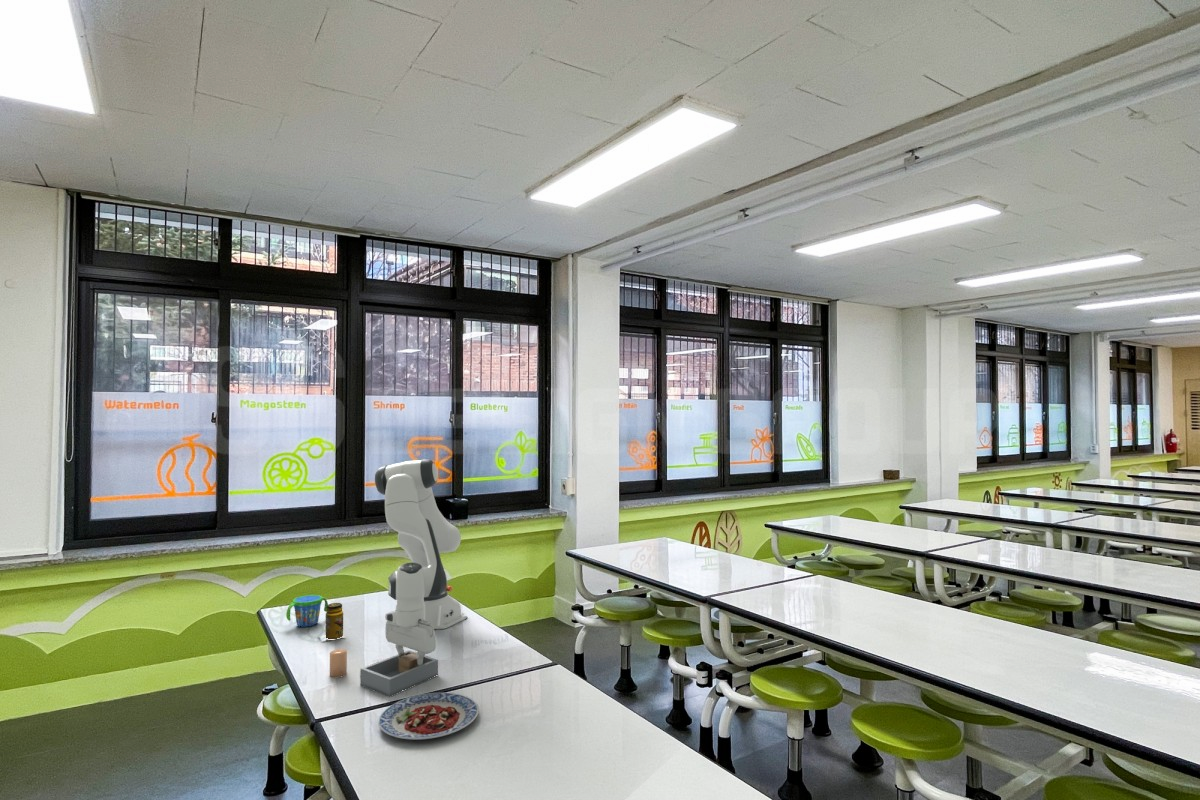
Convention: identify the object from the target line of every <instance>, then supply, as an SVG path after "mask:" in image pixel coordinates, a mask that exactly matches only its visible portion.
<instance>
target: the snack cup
mask: <svg viewBox="0 0 1200 800" xmlns="http://www.w3.org/2000/svg"><path fill="white" fill-rule="evenodd" d="M323 601H324V607H323V610H324V612H325V613H326V612H327V605H329V604H328V601H327V599H326V598H325V597H323V596H321V595H319V594H318V595H317V594H307V595H301V596H298V597H295V598H294V599H292V602H291V603H290V604H289V605H288V607H287V609H286V613H285V614H286V615H285V617H286V619H287V620H288V621H291V609H292V608H294V614H295V615H294V616H295V620H296V625H297V627H298V626H299V627H300V626H301V627H300V628H308V627H307V626H309V627H312V626H315V625H314V624H316V623H317V622H318V623H319V619H320V613H321V605H322V602H323ZM318 623H317V624H318ZM317 624H316V625H317ZM311 625H312V626H311Z"/></svg>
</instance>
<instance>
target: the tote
mask: <svg viewBox="0 0 1200 800" xmlns="http://www.w3.org/2000/svg"><path fill="white" fill-rule="evenodd" d="M405 652H406V655H408V654H411V653H413V654H416V655H419V654H417V651H414V650H413V651H412V650H405ZM359 671H360V673H359V675H360V677H359V678H360V681H359V684H360V685H359V686H361V687H363V686H364V688H366V689H369V690H370V691H373V690H374V692H376V693H378V694H381V695H384V696H386V697H388V696H389V698H390V696H391V697H393V696H395V695H397V693H398V694H399V692H400V693H402V692H403V691H402V690H405V689H407V690H409V689H411V688H413V687H412V686H414V685H416V686H418V685H420V684H419V683H421V682H423V683H425V682H427V681H426V680H428V679H430V678H432V677H434V676H436V675H438V676H439V659H436V658H434V657H431V656H427V655H425V656H424V658H423V664H422V665H420V666H418V667H415V668H413V669H410V670H408V671H405V672H403V673H400V674H399V658H398V654H395V655H393V656H390V657H387V658H385V659H382V660H380V661H377V662H375V663H372V664H370V665H366V666H364V667H361V668H360V670H359ZM434 678H435V677H434ZM432 679H433V678H432ZM430 680H431V679H430ZM424 681H425V682H424ZM428 681H429V680H428ZM417 684H418V685H417ZM421 684H422V683H421ZM410 687H411V688H410ZM414 687H415V686H414ZM408 688H409V689H408ZM401 691H402V692H401ZM405 691H406V690H405ZM394 694H395V695H394ZM392 695H393V696H392Z"/></svg>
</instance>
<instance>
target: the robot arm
mask: <svg viewBox="0 0 1200 800" xmlns="http://www.w3.org/2000/svg"><path fill="white" fill-rule="evenodd" d="M438 476H439V470H438V468H437V466H436V463H435V462H434V460H431V459H428V458H422V459H421V460H420V459H419V460H417V459H414V460H413V459H412V460H407V461H406V460H405V461H402V462H398V463H392V464H390V465H383V466H381V467H379V468H378V469H377V470H376V471H375V474H374V485H375V487H376V490H377V492H378V493H379V494H380V495H381V494H382V495H384V514H385V519H386V520H385V521H386V523H387V525H388V526H389V527H390V528H391V529H393V531H395V532H397V533H398V534H397V542H398V545H399V546H400V548H401V549H403V550H404V551H405V553H406V554H407V555H408V557H409V559H410V560H411V562H405V563H403V564H401V565H399V566H398V568H397V570H395V571H393V572H392V573H391V574H390V576H388V593H387V594H388V596H389V597H391V598H392V599H393V600H394V601H396V605H395V610H393V611H391V612H388V613H385V621H386V622H385V639H386V641H387V643H391V644H394V645H395V649H396V651H397V655H398V658H401V657H403V656H406V651H405V650H404V648H406V649H410V650H411V651H412V650H413V651H414V652H416V653H417V654H419V655H418V658H416V659H415V661H416V662H415V664H417V665H421V664H423V658H424V656H426V655H427V654H431V653H432V652H435V651H436V648H437V642H436V641H437V640H436V632H435V629H436V630H437V629H438V630H444V629H448V628H449V627H452V626H453V625H455V624H458V623H460V622H462V621H464V620H465V619H467V618H468V615H467V614H466V613H464V612H462V609H461V608H462V607H461V604H460V602H459V601H458V600H457V599H455V598H454V597H452V596H450V595H449V594H448V592H449V593H451V592H452V591H453V586H452V585H448V578H447V574H446V571H445V569H444V566H443V562H442V559H441V555H440V554H445V553H450V552H451V553H452V552H455V551H456V550H457V549H458V548H459V546H460V544H461V541H462V535H461V532H460V530H459V528H458V527H457V526H455V525H454V524H452V523H450V522H449V521H448V519H446V517H444V515H443V513H442V512H441V511H440V510H439V508H438V506H437V503H436V499H435V496H434V491H433V488H432V487H433V486H435V485H436V483H437V482H438Z"/></svg>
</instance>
